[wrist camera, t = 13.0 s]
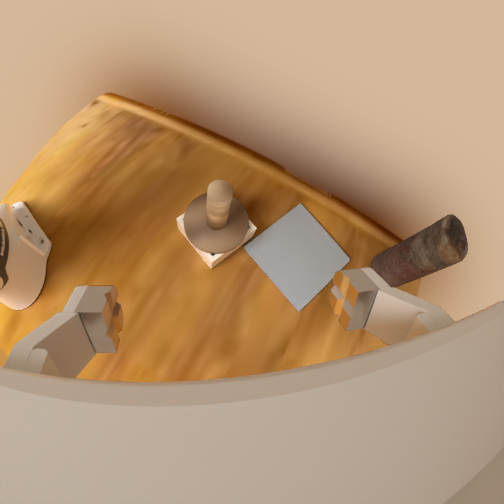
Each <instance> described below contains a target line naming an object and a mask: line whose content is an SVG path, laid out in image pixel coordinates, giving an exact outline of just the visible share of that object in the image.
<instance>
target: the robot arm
mask: <svg viewBox="0 0 504 504" xmlns="http://www.w3.org/2000/svg"><path fill="white" fill-rule="evenodd" d="M43 241H44V242H43ZM42 242H43V243H42ZM51 246H52V244H51V241H50V240H49V239H48V237H47V236H46V234H45V233H44V232H43V230H42V229H41V227H40V226H39V225H38V223H37V222H36V220H35V219H34V217H33V216H32V214H31V213H30V211H29V210H28V208H27V206H26V205H25V204H24V203H23V202H17V203H14V204H13V205H11V206H10V205H9V204H1V205H0V303H3V304H5V305H6V306H8V307H10V308H11V309H14V310H22V309H25V308H27V307H28V306H30V305H31V304H32V303H33V302H34V301H35V299H36V298H37V297H38V295H39V293H40V291H41V289H42V286H43V283H44V279H45V273H46V262H47V258H48V256H49V253H50V250H51ZM333 282H334V284H335V285H334V287H333V288H332V289H331V290H330V295H329V303H330V307H331V309H332V311H333V312H334V313H335V314H337V315H339V316H340V317H339V321H340V323H341V324H342V326H343V327H344V329H345V330H346V331H350V330H356V329H361V328H364V329H365V330H367V331H368V332H370V333H371V334H373V335H374V336H376V337H377V338H379V339H380V340H382V341H383V342H385V343H386V344H388V345H389V346H387V347H383V348H380V349H377V350H373V351H370V352H366V353H362V354H358V355H355V356H351V357H346V358H342V359H338V360H334V361H329V362H325V363H320V364H315V365H310V366H305V367H300V368H294V369H289V370H283V371H277V372H270V373H263V374H256V375H249V376H240V377H231V378H221V379H209V380H194V381H172V382H124V381H102V380H88V379H77V378H76V376H77V375H78V374H79V373H80V372H81V371H82V369H83V368H84V367H85V366H86V365H87V364H88V362H89V361H90V360H91V359H92V358H93V357H94V356H95V354H96V353H117V351H118V346H119V341H120V338H119V335H118V334H119V333H120V332H121V331H122V328H123V312H122V308H121V305H120V304H119V303H118V302H117V301H116V300H117V297H118V294H117V290H116V287H115V286H114V285H90V286H89V285H82V286H76V287H75V289H74V291H73V292H72V294H71V296H70V298H69V300H68V302H67V304H66V306H65V308H64V310H63V311H62V313H57V314H56V315H54V316H53V317H51V318H50V319H49V320H47V321H46V322H44V323H43V324H42V325H40V326H39V327H37V328H36V329H35V330H33V331H32V332H31V333H29V334H28V335H27V336H25V337H24V338H23V339H21V340H20V341H19V342H17V343H16V344H15V345H14V347H13V349H12V351H11V353H10V355H9V357H8V359H7V361H6V364H5V366H4V367H3V366H0V504H504V301H500V302H497V303H495V304H494V305H491V306H490V307H487V308H485V309H483V310H481V311H479V312H477V313H475V314H472V315H470V316H468V317H466V318H463V319H461V320H459V321H456V322H455V321H454V320H453V319H452V318H451V317H450V316H449V315H448V314H447V313H446V312H445V311H444V310H443V309H442V308H441V307H440V306H437V305H435V304H432V303H430V302H428V301H425V300H423V299H421V298H419V297H416V296H414V295H411V294H409V293H407V292H404V291H402V290H399V289H397V288H395V287H392V288H391V287H390V286H389V285H388V284H387V283H386V282H385V281H384V280H383V279H382V278H381V277H380V276H379V275H378V274H377V273H376V272H375V271H374V270H373V269H372V268H370V267H364V268H358V269H350V270H342V271H336V272H335V274H334V277H333Z"/></svg>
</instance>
